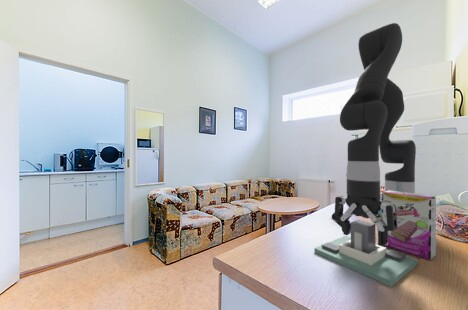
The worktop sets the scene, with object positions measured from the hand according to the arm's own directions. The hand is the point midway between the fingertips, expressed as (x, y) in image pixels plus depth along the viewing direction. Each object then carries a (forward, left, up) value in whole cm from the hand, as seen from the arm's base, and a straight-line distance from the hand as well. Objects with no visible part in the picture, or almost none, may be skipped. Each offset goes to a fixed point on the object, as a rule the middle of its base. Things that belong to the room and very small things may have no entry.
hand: (362, 239), depth 54 cm
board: (0, 0, -5) cm, 5 cm away
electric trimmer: (-23, -18, -5) cm, 30 cm away
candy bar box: (-15, +5, -5) cm, 17 cm away
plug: (0, 0, -4) cm, 4 cm away
